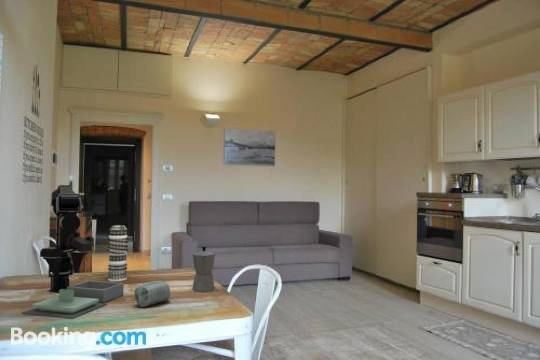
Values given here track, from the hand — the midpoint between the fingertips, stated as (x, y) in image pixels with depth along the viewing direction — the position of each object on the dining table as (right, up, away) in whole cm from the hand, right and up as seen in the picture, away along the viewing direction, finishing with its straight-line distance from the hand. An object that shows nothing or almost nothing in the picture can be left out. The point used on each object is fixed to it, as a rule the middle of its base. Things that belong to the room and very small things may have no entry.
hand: (66, 274), depth 142 cm
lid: (0, -12, 0) cm, 12 cm away
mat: (0, -12, 0) cm, 12 cm away
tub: (+4, -12, +15) cm, 20 cm away
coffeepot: (+42, -14, +31) cm, 54 cm away
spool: (+28, -13, +7) cm, 31 cm away
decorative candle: (-1, -14, +49) cm, 51 cm away
